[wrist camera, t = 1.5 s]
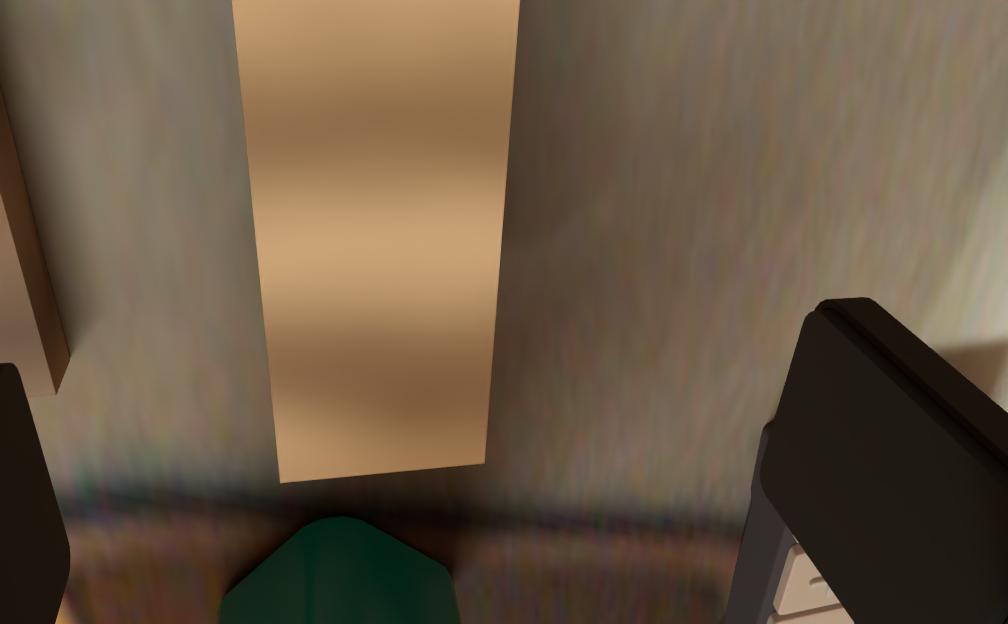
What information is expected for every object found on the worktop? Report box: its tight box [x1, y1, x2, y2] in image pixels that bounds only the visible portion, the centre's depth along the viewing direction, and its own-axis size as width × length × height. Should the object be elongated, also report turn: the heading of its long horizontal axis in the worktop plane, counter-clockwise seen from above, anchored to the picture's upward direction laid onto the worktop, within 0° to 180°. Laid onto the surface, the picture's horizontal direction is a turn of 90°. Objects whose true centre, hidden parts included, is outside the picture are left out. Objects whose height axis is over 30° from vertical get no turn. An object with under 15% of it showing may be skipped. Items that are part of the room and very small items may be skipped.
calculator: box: [724, 421, 855, 624], centre depth 41 cm, size 11×4×15 cm
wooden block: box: [232, 0, 520, 483], centre depth 20 cm, size 22×6×3 cm, turn 176°
